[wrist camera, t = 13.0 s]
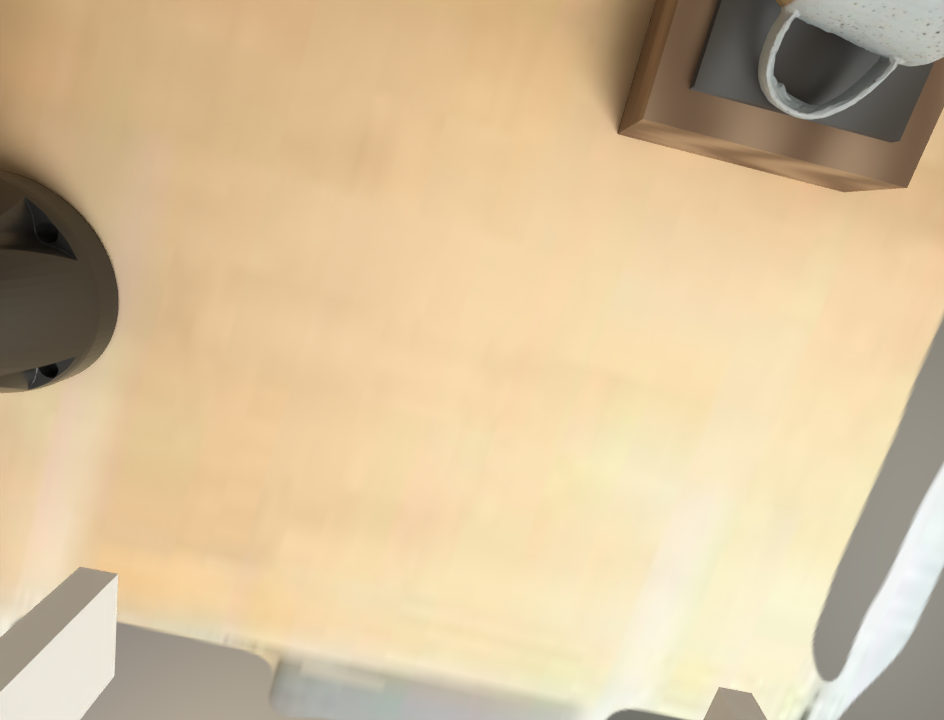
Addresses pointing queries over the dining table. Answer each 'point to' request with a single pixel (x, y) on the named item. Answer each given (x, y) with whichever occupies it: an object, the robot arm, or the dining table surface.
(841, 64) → the walnut base
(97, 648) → the robot arm
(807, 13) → the ceramic mug
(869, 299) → the dining table surface
